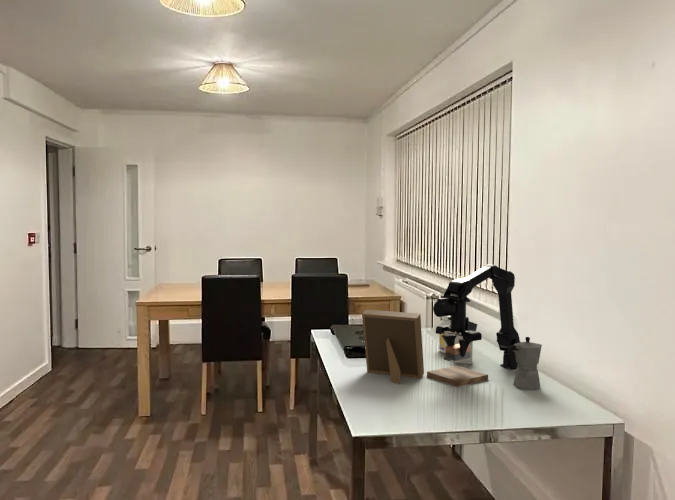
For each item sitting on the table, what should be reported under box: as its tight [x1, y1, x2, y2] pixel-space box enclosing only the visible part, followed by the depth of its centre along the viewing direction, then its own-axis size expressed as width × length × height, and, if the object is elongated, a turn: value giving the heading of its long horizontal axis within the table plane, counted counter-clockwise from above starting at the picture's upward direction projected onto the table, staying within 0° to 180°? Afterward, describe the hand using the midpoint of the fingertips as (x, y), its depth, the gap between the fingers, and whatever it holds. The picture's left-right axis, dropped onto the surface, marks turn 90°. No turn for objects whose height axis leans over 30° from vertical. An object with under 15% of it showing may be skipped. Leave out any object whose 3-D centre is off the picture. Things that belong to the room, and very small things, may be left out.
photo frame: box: [361, 309, 425, 385], centre depth 220 cm, size 15×22×25 cm
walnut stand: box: [426, 365, 489, 388], centre depth 219 cm, size 16×16×2 cm
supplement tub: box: [438, 316, 450, 354], centre depth 262 cm, size 12×12×17 cm
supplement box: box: [454, 331, 474, 365], centre depth 245 cm, size 7×7×13 cm
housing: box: [443, 344, 470, 362], centre depth 218 cm, size 5×10×5 cm, turn 124°
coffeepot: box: [508, 336, 543, 391], centre depth 208 cm, size 15×9×18 cm, turn 116°
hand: (457, 355), depth 219 cm, fingers closed on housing, 5 cm apart
